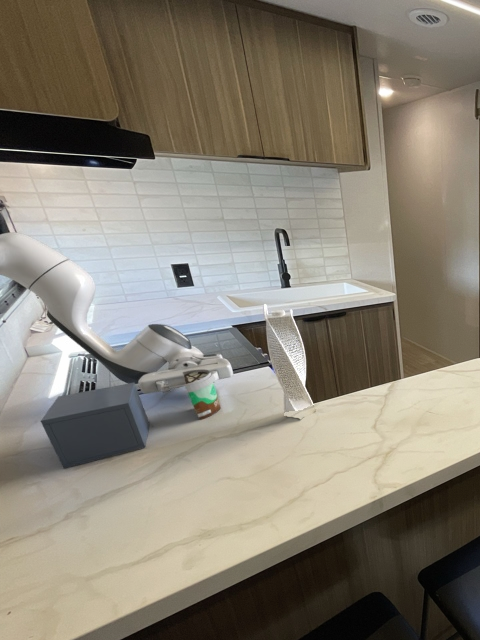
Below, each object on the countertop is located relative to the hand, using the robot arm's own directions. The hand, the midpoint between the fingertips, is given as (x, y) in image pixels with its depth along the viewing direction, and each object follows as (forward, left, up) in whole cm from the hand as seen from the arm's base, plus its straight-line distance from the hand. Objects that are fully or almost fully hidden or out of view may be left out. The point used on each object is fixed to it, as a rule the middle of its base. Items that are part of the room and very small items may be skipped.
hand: (188, 384), depth 103 cm
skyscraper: (+21, -21, -7) cm, 30 cm away
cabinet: (-16, -10, -7) cm, 20 cm away
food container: (+3, -4, -7) cm, 8 cm away
